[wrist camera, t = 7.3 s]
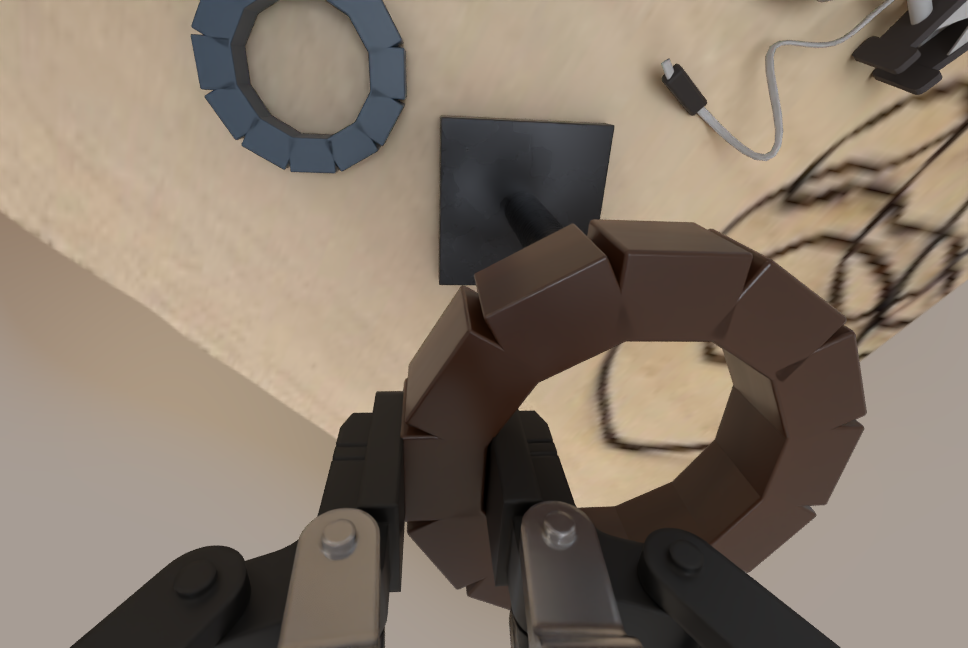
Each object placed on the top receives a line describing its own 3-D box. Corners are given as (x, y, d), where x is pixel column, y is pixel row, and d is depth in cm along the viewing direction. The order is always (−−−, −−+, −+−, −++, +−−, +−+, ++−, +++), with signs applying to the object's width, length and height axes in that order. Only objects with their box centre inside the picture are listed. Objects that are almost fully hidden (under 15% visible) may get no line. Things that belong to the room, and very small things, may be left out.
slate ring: (229, 163, 28) (215, 169, 26) (192, -56, 24) (170, -68, 22) (408, 169, 29) (406, 175, 27) (404, -38, 25) (402, -48, 23)
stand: (438, 277, 33) (446, 405, 20) (440, 115, 28) (451, 145, 15) (583, 278, 34) (679, 400, 21) (606, 123, 29) (747, 157, 17)
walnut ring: (407, 557, 14) (404, 633, 12) (401, 212, 10) (394, 245, 8) (732, 541, 15) (775, 608, 14) (859, 226, 11) (952, 258, 9)
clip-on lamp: (698, 176, 34) (1008, -8, 28) (733, 217, 30) (1120, 6, 23) (622, 20, 29) (991, -263, 22) (650, 38, 24) (1138, -320, 17)
